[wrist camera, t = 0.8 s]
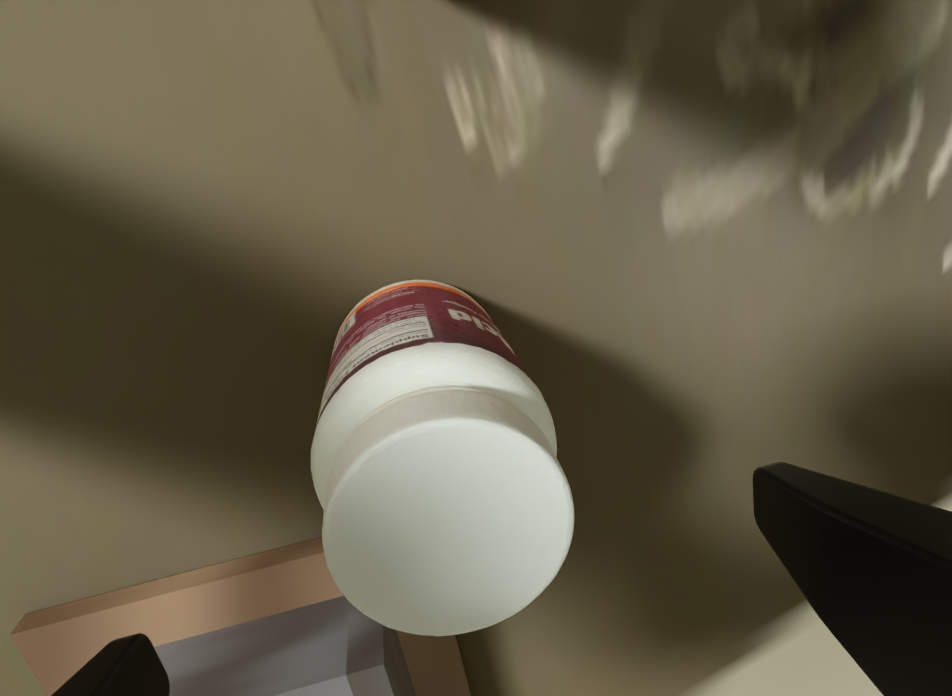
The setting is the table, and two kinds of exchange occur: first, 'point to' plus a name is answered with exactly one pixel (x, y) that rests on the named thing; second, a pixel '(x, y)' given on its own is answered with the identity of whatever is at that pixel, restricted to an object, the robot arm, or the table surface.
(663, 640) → the table surface
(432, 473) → the pill bottle
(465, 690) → the bottle holder
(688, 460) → the table surface
